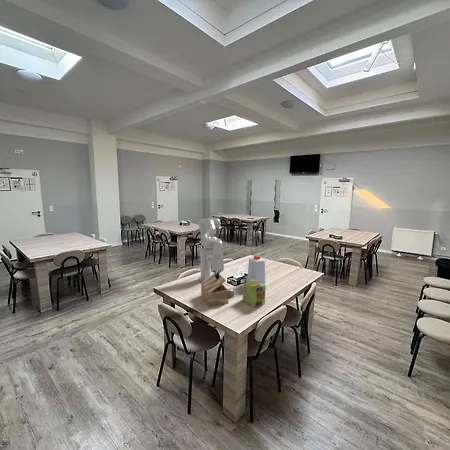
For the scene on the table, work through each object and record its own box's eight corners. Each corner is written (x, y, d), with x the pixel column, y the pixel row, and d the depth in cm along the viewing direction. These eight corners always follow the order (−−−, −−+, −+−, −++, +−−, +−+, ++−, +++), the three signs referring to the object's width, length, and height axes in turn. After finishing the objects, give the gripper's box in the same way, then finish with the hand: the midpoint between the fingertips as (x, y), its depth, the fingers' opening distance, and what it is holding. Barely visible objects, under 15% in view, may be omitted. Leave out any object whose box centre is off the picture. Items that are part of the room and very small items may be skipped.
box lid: (201, 283, 199) (201, 282, 199) (217, 272, 203) (216, 271, 203) (209, 293, 181) (208, 292, 180) (226, 280, 185) (226, 280, 184)
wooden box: (201, 295, 200) (201, 283, 199) (219, 292, 207) (219, 280, 205) (209, 306, 182) (209, 293, 181) (228, 303, 189) (228, 290, 187)
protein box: (255, 307, 183) (256, 288, 180) (242, 299, 195) (243, 281, 192) (265, 303, 189) (266, 285, 186) (251, 296, 201) (252, 278, 198)
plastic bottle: (258, 280, 235) (260, 252, 231) (267, 286, 222) (268, 257, 217) (245, 282, 229) (246, 254, 225) (252, 288, 216) (254, 259, 211)
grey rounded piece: (225, 294, 203) (225, 289, 202) (232, 293, 206) (232, 288, 205) (228, 298, 197) (228, 292, 196) (235, 296, 200) (235, 291, 199)
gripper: (224, 254, 196) (223, 275, 198) (207, 255, 190) (206, 277, 193) (228, 256, 189) (227, 278, 192) (210, 258, 183) (209, 281, 186)
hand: (217, 278), depth 192 cm, fingers closed
